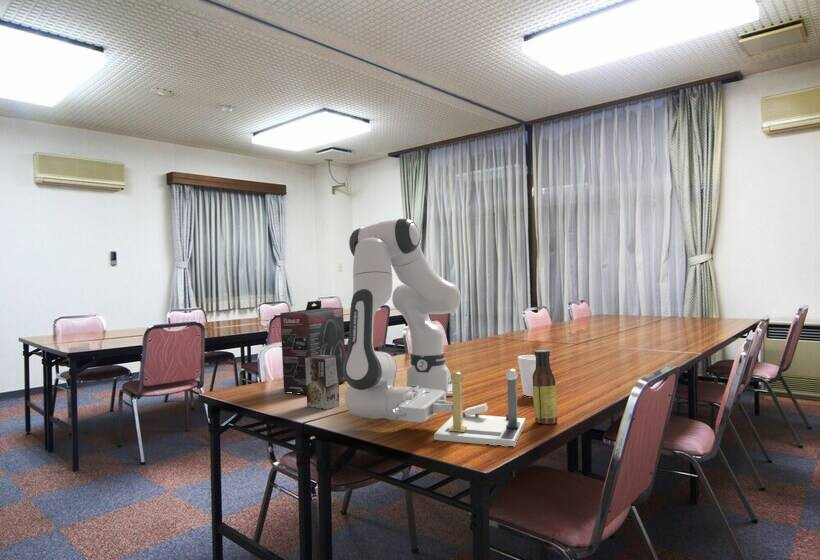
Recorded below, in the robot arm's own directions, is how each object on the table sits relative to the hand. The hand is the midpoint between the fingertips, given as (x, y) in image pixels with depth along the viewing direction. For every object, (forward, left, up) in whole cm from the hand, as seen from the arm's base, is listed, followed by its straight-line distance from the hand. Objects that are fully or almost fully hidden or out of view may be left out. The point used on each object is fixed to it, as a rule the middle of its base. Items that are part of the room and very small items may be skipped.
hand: (453, 407), depth 131 cm
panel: (-6, +6, -7) cm, 11 cm away
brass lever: (0, +1, -6) cm, 6 cm away
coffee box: (-19, -49, -8) cm, 53 cm away
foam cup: (-50, +14, -8) cm, 53 cm away
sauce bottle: (-19, +21, -8) cm, 29 cm away
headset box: (-43, -66, -8) cm, 79 cm away
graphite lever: (-7, +14, -6) cm, 17 cm away
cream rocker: (-14, +3, -4) cm, 15 cm away
